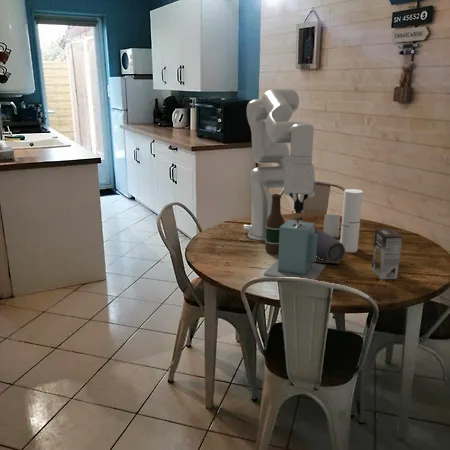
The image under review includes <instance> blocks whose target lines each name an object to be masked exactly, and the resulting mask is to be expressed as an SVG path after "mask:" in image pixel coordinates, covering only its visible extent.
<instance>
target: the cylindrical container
mask: <svg viewBox="0 0 450 450" xmlns="http://www.w3.org/2000/svg"><path fill="white" fill-rule="evenodd" d="M363 193H364V191H363V190H361V189H355V188H349V189H348V188H347V189H344V192H343V204H342V215H341V216H342V218H341V227H340V228H341V230H340V241H339V242H340V243H342V244H343V245H344V247H345V253H356V252H358V248H359V247H358V246H359V237H360V226H361V225H360V224H361V214H362V203H363Z"/></svg>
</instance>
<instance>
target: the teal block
mask: <svg viewBox="0 0 450 450" xmlns="http://www.w3.org/2000/svg"><path fill="white" fill-rule="evenodd" d="M284 222H285V223H284V224H283V225H282V226H280V232H279V254H278V257H277V258H278V259H276V261H275V262H273V264H272V265H271V266H270V267H269V268H267V269H266V271H265V272H263V275H264V276H267V277H272V278H277V277H300V278H308V279H316V280H317V279H318V277H319V276H320V274H321V273H322V272H323V270H324V269H325V268H326V264H322V263H316V262H317V257H316V255H317V240H318V234H314V231H315V227H316V223H314V222H307V221H302V220H300V221H299V227H298V226H296V220H294V219H292V220H291V219H287V220H286V221H284Z"/></svg>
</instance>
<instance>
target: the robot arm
mask: <svg viewBox="0 0 450 450" xmlns="http://www.w3.org/2000/svg"><path fill="white" fill-rule="evenodd" d="M299 104H300V97H299V95H298V93H297V92H296V91H295V90H293V89H284V88H283V89H277V88H276V89H269V90H267V91H265V92H264V93H263V95H262V98H257V99H256V98H255V99H252V100H251V101H249V102H248V103H247V106H246V118H247V122H248V125H249V127H250V132H251V148H252V151H251V152H252V153H251V154H252V159H253V162H255V164H276V166H275V165H274V166H257V167H255V168H253V169H252V170H251V171H250V174H249V180H250V181H249V182H250V187H251V220H250V222H251V224H250V225H248V224H243V225H242V226H243V231H248V232H247V237H248V238H249V239H252V240H256V241H265V238H266V220H267V218H268V216H269V215H270V213H271V207H272V195H273V194H272V193H271V192H270V191H269V189H282V188H283V191H284V192H283V194H284V195H286V196H289V197H291V199H292V201H293V211H294V210H295V213H297V212H298V213H300V212H302V211H304V204H305V203H304V202H305V200H307V199H308V198H314V197H315V195H316V194H315V189H316V174H315V165H314V164H313V150H314V149H313V147H314V131H315V129H314V125H313V124H311V123H307V122H305V121H293V120H291V118H292V116H293V114H294V113H295V112H296V111H297V109H298V108H299ZM289 120H291V121H289ZM288 144H290V149H289V146H288ZM299 195H300V196H299Z"/></svg>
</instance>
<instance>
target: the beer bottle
mask: <svg viewBox="0 0 450 450" xmlns="http://www.w3.org/2000/svg"><path fill="white" fill-rule="evenodd" d="M271 195H272V207H271V213H270V215H269V216H268V218H267V220H266V238H265V240H264V241H265V242H264V243H265V244H264V246H265V247H264V248H265V251H266V253H267V254H270V255H279V232H280V226H282V225H283V224H284V223H285V222H286V221H285V219H284V217H283V216H282V211H281V198H282V197H281V194H279V193H274V194H271Z"/></svg>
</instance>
